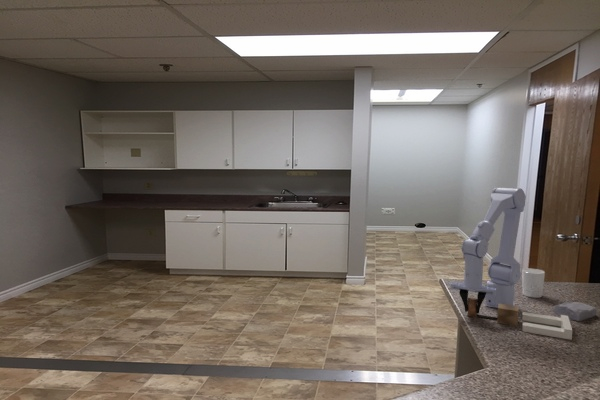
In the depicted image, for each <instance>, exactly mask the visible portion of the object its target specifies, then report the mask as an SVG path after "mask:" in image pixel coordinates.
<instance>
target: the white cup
mask: <svg viewBox="0 0 600 400" xmlns="http://www.w3.org/2000/svg"><path fill="white" fill-rule="evenodd" d="M521 270H522V271H521V286H522V295H523V296H525V297H528V298H537V299H538V298H541V297H543V290H544V283H545V275H546V272H545V270H543V269H538V268H530V267H529V268H525V267H524V268H522V269H521Z"/></svg>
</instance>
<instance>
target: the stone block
mask: <svg viewBox="0 0 600 400" xmlns="http://www.w3.org/2000/svg"><path fill="white" fill-rule="evenodd" d="M552 311H553V314H554V315H556V316H557V317H558V316H559V317H561V315H566V316H568V318H569V320H573V321H576V322H582V321H584V320H588V319H590V318H594V317H596V315H597V313H598V312H597V307H595V306H591V305H589V304H587V303H584V302H579V301H578V302H577V301H575V302H574V301H566V302H562V303H560V304H557V305H554V306H553V308H552Z"/></svg>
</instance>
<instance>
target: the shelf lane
mask: <svg viewBox="0 0 600 400" xmlns="http://www.w3.org/2000/svg"><path fill="white" fill-rule="evenodd" d="M521 318H522V329H521V330H522V332H523V333H530V334H537V335H541V336H548V337H554V338H559V339H565V340H571V341H572V338H573V329H572V325H571V324H572V323H571V322H570V319H569V318H568V316H566V315H561V316H559V317H558V316H553V315H546V314H540V313H535V312H534V313H533V312H532V313H531V312H526V311H523V312H522V317H521Z"/></svg>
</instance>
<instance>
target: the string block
mask: <svg viewBox="0 0 600 400" xmlns="http://www.w3.org/2000/svg"><path fill="white" fill-rule="evenodd" d="M467 316H468V317H470V318H477V317H478V318H484V319H490V320H496V321H497V324H498V323H499V324H505V325H508V326H509V325H510V326H517V327H518V326H519V325H518V324H519V323H518V322H519V305H515V306H513V305H506V304H498V308H497V317H496V316H489V315H486V314H485V315H484V314H480V313H479V314H477V298H476V297H468V311H467Z"/></svg>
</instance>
